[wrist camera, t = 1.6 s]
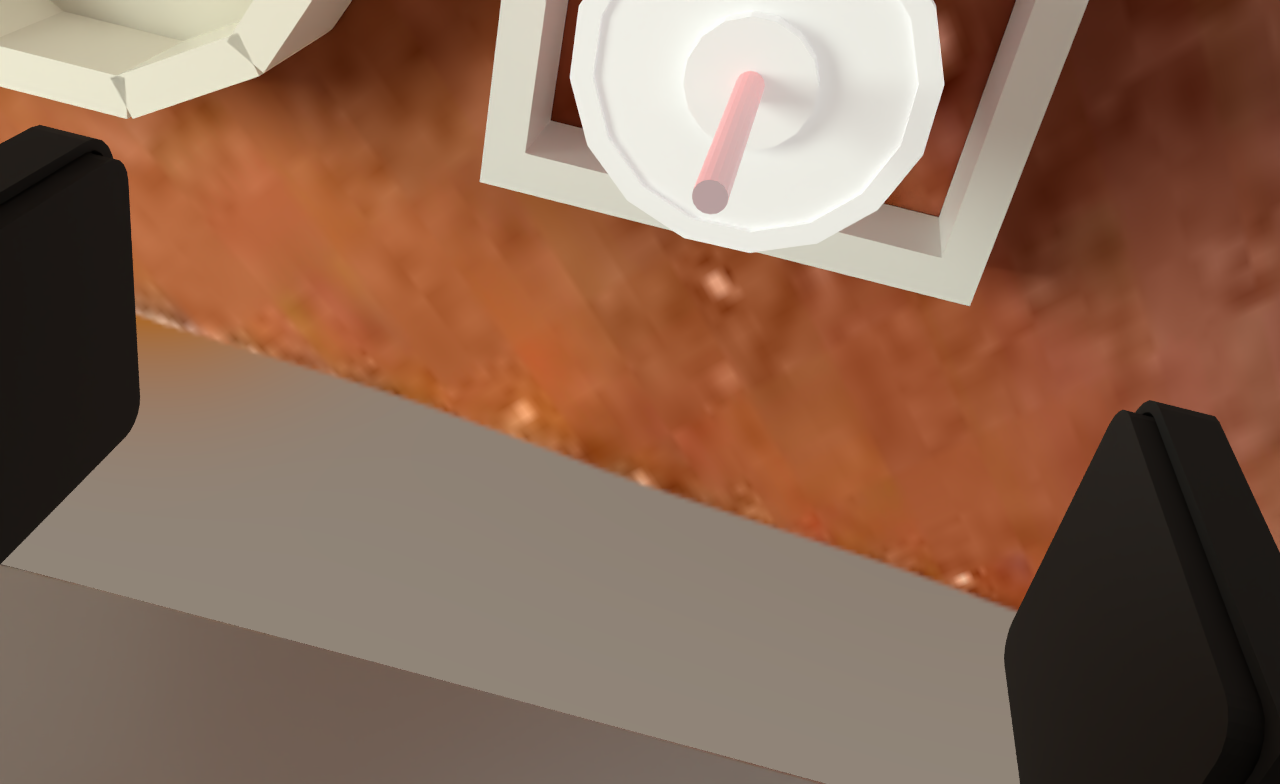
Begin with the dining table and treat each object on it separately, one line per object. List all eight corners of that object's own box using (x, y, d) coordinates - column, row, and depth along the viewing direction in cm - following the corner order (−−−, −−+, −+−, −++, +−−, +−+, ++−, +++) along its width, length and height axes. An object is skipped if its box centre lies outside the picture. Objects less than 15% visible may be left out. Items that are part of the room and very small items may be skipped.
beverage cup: (967, 41, 27) (1018, 329, 15) (720, 133, 29) (600, 448, 17) (879, -237, 24) (861, -148, 13) (617, -112, 27) (395, 62, 15)
